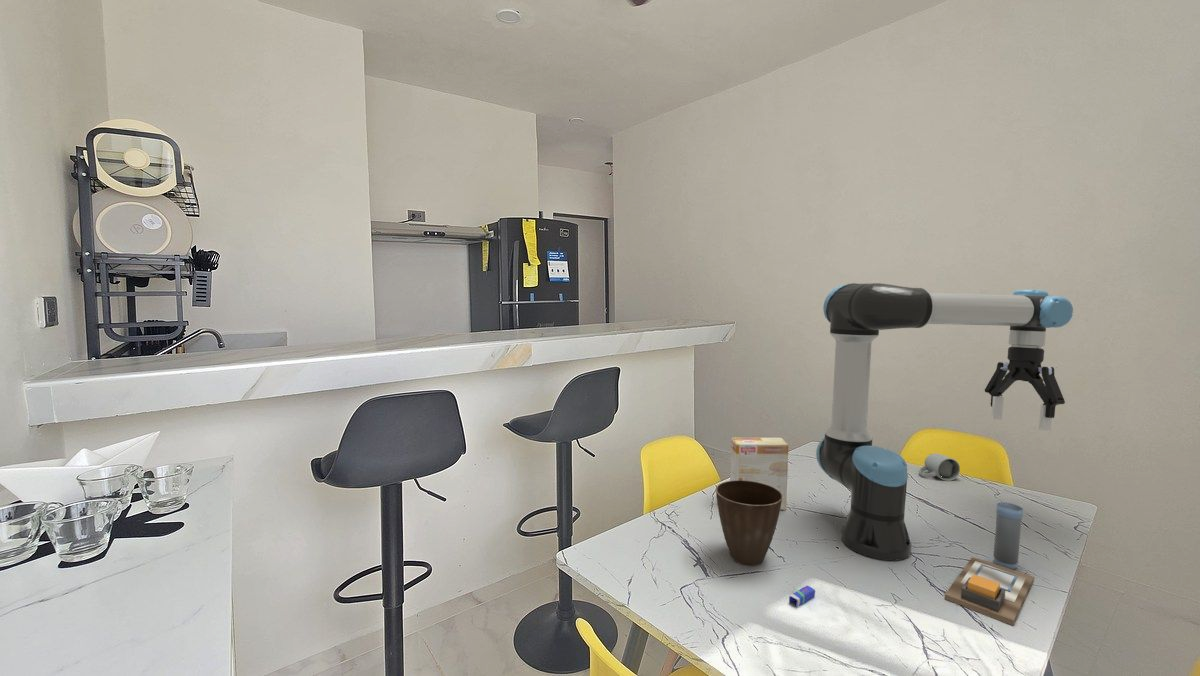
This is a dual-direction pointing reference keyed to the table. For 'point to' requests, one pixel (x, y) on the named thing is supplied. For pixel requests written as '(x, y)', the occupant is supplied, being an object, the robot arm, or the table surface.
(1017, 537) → the cup
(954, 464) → the ceramic mug
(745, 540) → the plant pot
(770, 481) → the coffeecake box
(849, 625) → the table surface
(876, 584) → the table surface
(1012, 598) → the wooden board
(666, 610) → the table surface
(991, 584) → the button
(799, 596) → the eraser
